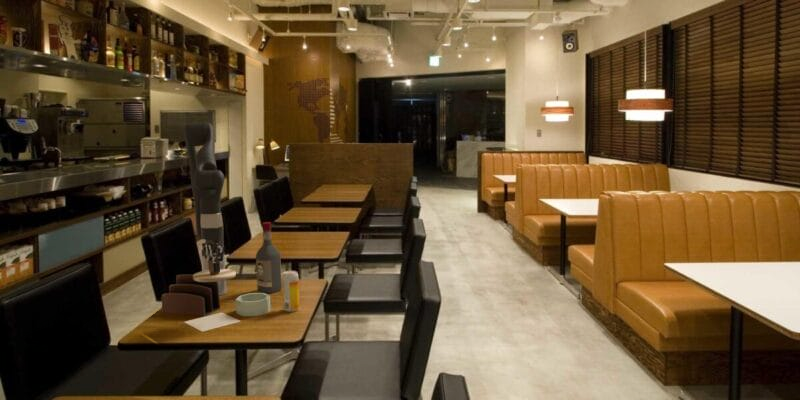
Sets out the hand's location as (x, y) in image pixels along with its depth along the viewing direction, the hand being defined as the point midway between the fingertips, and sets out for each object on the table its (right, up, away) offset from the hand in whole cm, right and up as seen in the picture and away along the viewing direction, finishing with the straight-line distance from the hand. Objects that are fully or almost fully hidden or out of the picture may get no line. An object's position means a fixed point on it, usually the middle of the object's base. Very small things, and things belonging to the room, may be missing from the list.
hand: (214, 271), depth 218 cm
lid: (0, -2, 0) cm, 2 cm away
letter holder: (-14, -18, +15) cm, 27 cm away
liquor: (+11, -14, +43) cm, 47 cm away
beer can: (+26, -17, +15) cm, 34 cm away
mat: (-1, -19, +1) cm, 19 cm away
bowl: (+11, -17, +12) cm, 24 cm away
